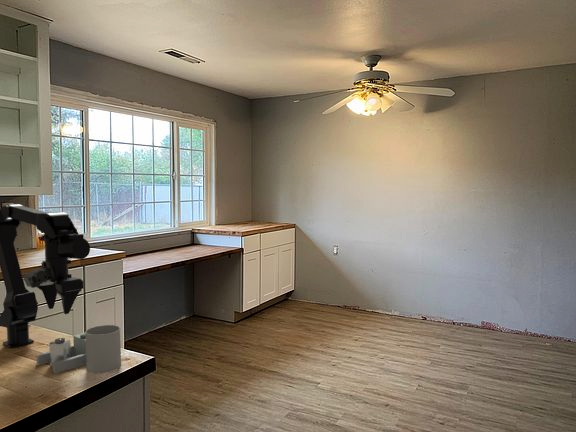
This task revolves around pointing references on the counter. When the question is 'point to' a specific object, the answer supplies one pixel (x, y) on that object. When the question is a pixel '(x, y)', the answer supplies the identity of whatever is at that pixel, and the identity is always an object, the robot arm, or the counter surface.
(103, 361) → the cup
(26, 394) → the counter surface
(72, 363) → the grey u-shaped bracket
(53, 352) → the bottle
